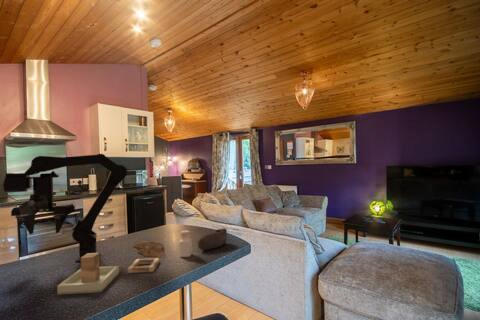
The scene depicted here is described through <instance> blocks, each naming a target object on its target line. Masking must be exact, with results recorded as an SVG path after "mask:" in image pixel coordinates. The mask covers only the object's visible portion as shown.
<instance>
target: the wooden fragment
mask: <svg viewBox="0 0 480 320" xmlns="http://www.w3.org/2000/svg"><path fill="white" fill-rule="evenodd" d="M132 247H133V248H136V249H137V250H138V251H137V253H138V254H141V255H142V256H143V257H145V258H159V259H165V258H166V256H165V251H164V245H163V244H162V243H159V242H153V241H147V240H142V241H140V242H137V243H134V245H132Z"/></svg>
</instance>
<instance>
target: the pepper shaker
mask: <svg viewBox="0 0 480 320" xmlns="http://www.w3.org/2000/svg"><path fill="white" fill-rule="evenodd" d="M190 234H191V232H190V230H186V229H185V230H182V231H180V235H181V236H180V237H181V239H180V240H179V243H178V244H179V257H180V258H190V257H191V255H192V254H193V244H192V243H193V240H192V238H190V237H191V236H190Z"/></svg>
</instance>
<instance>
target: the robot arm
mask: <svg viewBox="0 0 480 320" xmlns="http://www.w3.org/2000/svg"><path fill="white" fill-rule="evenodd" d="M95 164H96V165H97V164H99V165H100V166H102V167H103V168H105V169H106V170H108V171H109V174H108V176H107V180H106V182H105V185H104V186H103V187H102V189H101V190H100V193H99V194H98V195H97V197H96V199H95V201H94V202H93V203H92V206H91V207H90V209H88V212H87V213H86V214H85V216H84V217H83V218H82V217H81V216H79V217H78V219H77V221H76V223H75V224H74V225H73V226H72V229H71V231H72V232H71V236H72V239H73V240H74V241H75V242H77V243H78V252H79V253H78V254H79V256H78V258H77V259H75V263H76V262H81V257H83V256H84V255H86V254H87V253H99V257H100V256H101V255H102V253H100V252H98V249H97V247H98V246H97V244H98V243H97V233H96V232H95V231H93V229H94V228H93V227H94V225H95V223H96V220H97V218H98V216H99V215H100V213H101V212H102V210H103V209H104V206H105V205H106V203H107V201H108V200H109V198H110V197H111V195H112V193H113V192H114V190H115V189H116V187H118V186H119V184H120V183H122V181H123V180H124V179H125V178H126V176H127V174H128V169H127V168H126V167H125V165H123V164H117V163H116V162H114V161H112V160H111V159H110V158H108V157H107V156H106V155H105V154H103V153H97V154H87V155H86V154H85V155H75V156H64V157H62V156H51V155H50V156H47V155H39V156H35V157H34V158H33V159H32V160H31V162H30V167H28V169H26V170H25V171H24V172H20V173H18V172H17V173H15V172H14V173H13V172H8V173H7V172H6V173H5V177H4V181H3V185H2V187H3V191H4V193H6V194H12V193H25V192H28V191H29V189H30V190H31V189H32V194H30V195H29V200H27V201H25V202H23V203H21V204H20V205H18V206H14V207H13V208H12V209H11V211H10V216H11V217H14V218H15V219H19V220H20V221H22V223H23V224H24V226H25V228H26V230H27V233H28V234H29V235H33V234H34V231H35V223H36V215H37V214H38V213H54V214H53V215H52V217H53V218H54V220H55V222H54V223H55V234H59V233H60V231H61V230H62V227H63V225H64V223H65V221H66V219H67V217H68V216H69V215H71V214H72V212H75V209H76V207H75V205H74V204H73V203H62V204H59V205H58V204H57V203H56V202H54V196H55V195H57V193H56V191H54V178H59V177H60V175H59V174H58V173H56V172H55V171H54V170H57V169H62V168H66V167H67V168H68V167H77V166H87V165H95ZM50 171H51V172H50ZM43 172H44V173H43ZM38 174H40V175H39V176H34V175H38Z"/></svg>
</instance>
